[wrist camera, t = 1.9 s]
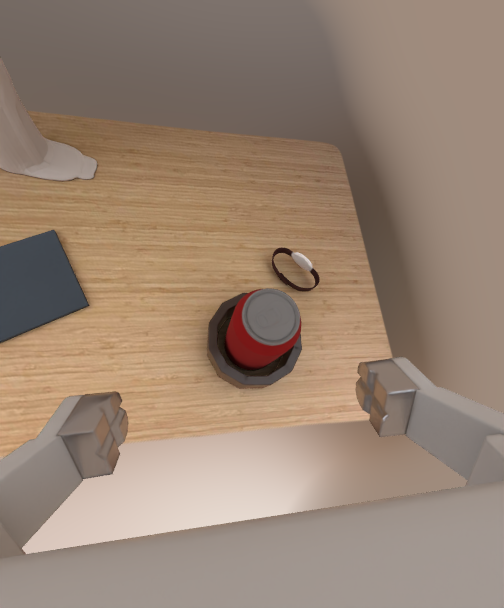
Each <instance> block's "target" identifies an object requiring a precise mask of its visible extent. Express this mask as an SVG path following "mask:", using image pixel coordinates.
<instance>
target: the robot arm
mask: <svg viewBox="0 0 504 608" xmlns="http://www.w3.org/2000/svg"><path fill="white" fill-rule="evenodd" d="M358 374H359V375H360V376H361V377H360V379H359V380H358V381H357V382H356V395H357V399H358V402H359V404H360V406H361V408H362V409H363V410H364V411H366V412H367V413H369V414H370V419H369V421H370V422H371V424H372V425H373V427H374V429H375V430H376V432H377V433H378V435H379V437H385V436H395V435H403V434H406V436H407V437H408V438H410V439H411V440H412V441H414V442H415V443H416V444H418V445H419V446H421V447H422V448H423V449H425V450H426V451H428V452H429V453H430V454H432V455H433V456H435V457H436V458H437V459H439V460H440V461H442V462H443V463H444V464H446V465H447V466H448V467H450V468H451V469H453V470H454V471H455V472H457V473H458V474H459V475H461V476H463V477H464V478H465V479H466V480H468V481H467V483H466V486H465V487H458V488H452V489H445V490H439V491H432V492H426V493H419V494H413V495H407V496H400V497H393V498H387V499H381V500H374V501H368V502H361V503H355V504H348V505H342V506H336V507H330V508H323V509H317V510H310V511H304V512H297V513H291V514H284V515H278V516H271V517H265V518H259V519H252V520H245V521H239V522H232V523H226V524H220V525H213V526H207V527H200V528H193V529H188V530H180V531H174V532H167V533H161V534H155V535H148V536H142V537H136V538H128V539H123V540H115V541H109V542H103V543H97V544H90V545H83V546H77V547H70V548H64V549H57V550H51V551H45V552H38V553H32V554H26V553H25V552H24V551H23V550H22V547H23V546H24V545H25V544H26V543H27V542H28V541H29V539H30V538H31V537H32V536H33V535H34V534H35V533H36V532H37V531H38V530H39V529H40V527H41V526H42V525H43V524H44V523H45V522H46V521H47V520H48V518H50V516H51V515H52V514H53V513H54V512H55V511H56V510H57V509H58V508H59V507H60V505H61V504H62V503H63V502H64V501H65V500H66V499H67V498H68V497H69V496H70V494H71V493H72V492H73V491H74V490H75V489H76V488H77V487H78V485H80V483H81V482H82V481H83V479H86V478H92V477H98V476H103V475H110V474H113V471H114V468H115V466H116V463H117V460H118V458H119V455H120V453H119V450H118V447H119V446H120V445H121V444H122V443H123V442H124V441H125V438H126V436H127V432H128V416H127V413H126V411H125V410H124V409H122V408H121V407H120V405H121V402H122V399H121V396H120V394H119V393H118V392H106V393H95V394H85V395H77V396H69V397H67V398H65V399H64V400H63V401H62V403H61V404H60V406H59V407H58V408H57V410H56V411H55V413H54V414H53V415H52V417H51V418H50V420H49V421H48V422H47V424H46V425H45V427H44V428H43V429H42V431H41V432H40V434H39V435H38V436H37V438H36V439H32V440H29V441H28V442H26V443H25V444H23V445H22V446H20V447H19V448H17V449H16V450H14V451H13V452H12V453H10V454H9V455H7V456H6V457H4V458H3V459H1V460H0V608H504V413H501V412H499V411H496V410H494V409H492V408H490V407H487V406H485V405H483V404H480V403H478V402H476V401H473V400H471V399H468V398H466V397H464V396H461V395H459V394H457V393H454V392H452V391H450V390H447V389H445V388H443V387H439V388H437V387H436V386H435V385H434V384H433V383H432V382H430V380H429V379H427V377H425V376H424V375H423V374H422V373H421V372H420V371H419V370H418V369H417V368H416V367H415V366H414V365H413V364H412V363H411V362H409V360H408V359H407V358H404V357H397V358H390V359H385V360H377V361H369V362H361V363H360V364H359V366H358Z"/></svg>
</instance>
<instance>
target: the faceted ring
mask: <svg viewBox="0 0 504 608" xmlns="http://www.w3.org/2000/svg"><path fill="white" fill-rule="evenodd" d="M246 294H248V293H242V294H240V295H238V296H236V297H234V298H232V299H230V300H228V301H226V302H224V303H222V304H221V306H220V307H219V309H218V310H217V312H216V313H215V315H214V316H213V318H212V319H211V321H210V322H209V328H208V346H207V356H208V358H209V360H210V362H211V364H212V366H213V367H214V369H215V371H216V373H217V375H218V376H219V377H220V378H222V379H224V380H225V381H227V382H229V383H230V384H232V385H234V386H235V387H237V388H240V389H247V388H264V387H267V386H269V385H271V384H273V383H275V382H276V381H278V380H279V379H281V378H282V377H284V376H285V375H287V374H289V373H290V372H291V371H292V370H293V368H294V365H295V363H296V361H297V359H298V357H299V355H300V353H301V350H302V345H301V334H300V335H299V338H298V340H297V342H296V343H295V345H294V346H293V347H292V348H291V349H289V350H288V351H287V352H285V353H284V354H283V356H282V358H281V360H280V362H279V364H278V366H277V368H276V370H275V371H273V372H272V373H270V374H269V375H267V376H246V375H244V374H243V373H241V372H239V371H238V370H236V369H234V368H233V367H231V366H229V365H228V364H227V362H226V361H225V359H224V357H223V355H222V353H221V352H220V350H219V348H218V346H217V340H218V331H219V329H220V328H221V326H222V325H223V323H224V322H225V320H227V319H229V318H231V317H232V315H233V312H234V310H235V307H236V305H237V303H238V302H239V301H240V299H241V298H242V297H244V296H245V295H246Z"/></svg>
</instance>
